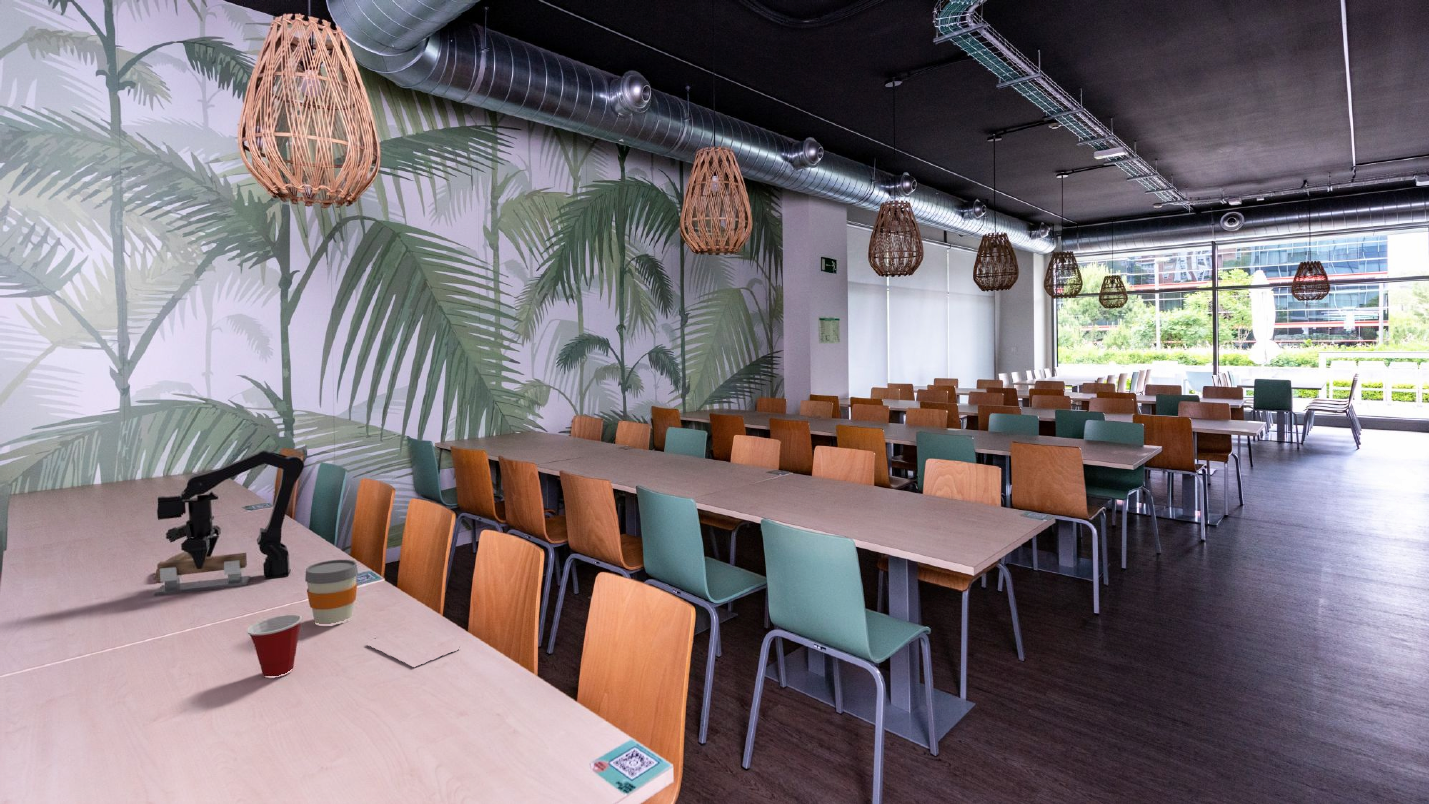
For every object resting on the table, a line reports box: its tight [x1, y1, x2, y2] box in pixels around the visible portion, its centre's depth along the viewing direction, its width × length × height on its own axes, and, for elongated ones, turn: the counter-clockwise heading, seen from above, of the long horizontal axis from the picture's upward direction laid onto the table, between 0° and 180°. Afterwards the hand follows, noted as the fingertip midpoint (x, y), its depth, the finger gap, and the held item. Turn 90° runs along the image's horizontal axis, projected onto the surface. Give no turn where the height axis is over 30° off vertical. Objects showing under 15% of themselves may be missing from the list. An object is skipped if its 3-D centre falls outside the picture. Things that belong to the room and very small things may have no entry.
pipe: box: [154, 551, 192, 583], centre depth 228 cm, size 6×17×10 cm
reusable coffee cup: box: [304, 559, 359, 624], centre depth 190 cm, size 13×13×15 cm
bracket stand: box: [154, 560, 252, 597], centre depth 216 cm, size 23×7×8 cm, turn 114°
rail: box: [156, 552, 248, 578], centre depth 216 cm, size 22×3×4 cm, turn 116°
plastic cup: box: [245, 613, 303, 677], centre depth 159 cm, size 11×11×12 cm
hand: (203, 564), depth 216 cm, fingers open, 9 cm apart
